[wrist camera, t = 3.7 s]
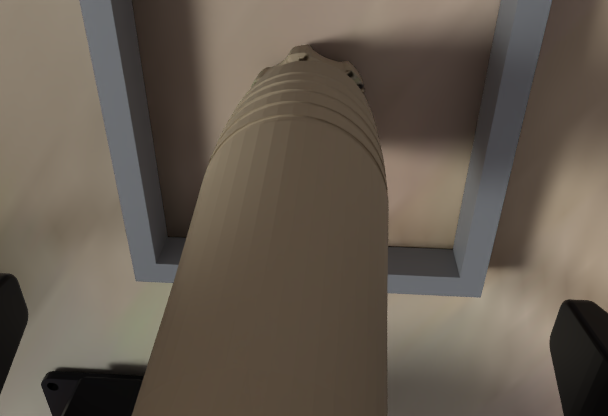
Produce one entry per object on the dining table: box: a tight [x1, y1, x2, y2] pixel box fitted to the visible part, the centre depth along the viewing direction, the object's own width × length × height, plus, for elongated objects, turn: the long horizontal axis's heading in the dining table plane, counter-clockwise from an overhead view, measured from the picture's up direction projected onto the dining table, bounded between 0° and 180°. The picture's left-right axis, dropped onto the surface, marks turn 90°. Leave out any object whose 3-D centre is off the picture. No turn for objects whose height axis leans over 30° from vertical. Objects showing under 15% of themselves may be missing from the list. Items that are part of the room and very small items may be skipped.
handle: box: [132, 45, 388, 416], centre depth 11 cm, size 5×6×15 cm
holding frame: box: [80, 0, 552, 297], centre depth 16 cm, size 13×12×2 cm
